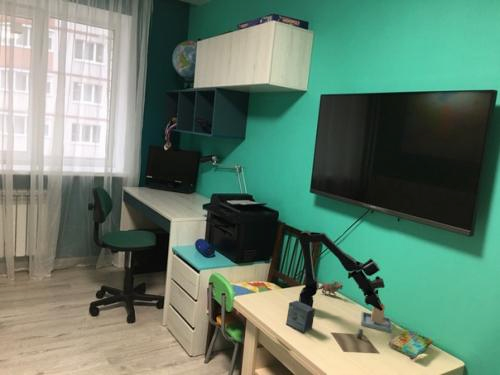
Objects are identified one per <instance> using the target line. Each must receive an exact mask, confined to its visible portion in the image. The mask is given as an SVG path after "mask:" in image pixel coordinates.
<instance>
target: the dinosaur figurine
mask: <svg viewBox="0 0 500 375" xmlns="http://www.w3.org/2000/svg"><path fill="white" fill-rule="evenodd" d="M343 287H344V286H343V284H342V283H341V281H339V282H338V281H336V280H332V281H331V282H323V283H322V285H321V286H319V288H318V290H321V293H323V294H324V295H323V296H324V297H327V292H328V294H329V297H330V298H332V295H331V294H333V295H335V296H337V294H336V292H338V291H339V290H343Z"/></svg>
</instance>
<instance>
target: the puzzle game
mask: <svg viewBox="0 0 500 375" xmlns="http://www.w3.org/2000/svg"><path fill="white" fill-rule="evenodd" d="M433 343H434V340H433V339H431V338H429V337H426V336H424V335H421V334H418V333H417V332H414V331H412V330H409V329H406V330H404V331H403V332H401V333H400V334H398V335H396V336H395V337H393V338H392V339H391V340H389V341H388V346H389V348H391V349H393V350H395V351H398V352H400V353H401V354H403V355H405V356H407V357H409V359H410V360H412V361H413V360H414V359H416V358H417V357H418V356H420V354H422V353H424V351H425V350H427V349H428V348H429V347H430V346H431V345H432V344H433Z"/></svg>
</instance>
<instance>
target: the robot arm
mask: <svg viewBox="0 0 500 375" xmlns="http://www.w3.org/2000/svg"><path fill="white" fill-rule="evenodd" d="M298 241H299V245H300V247H301V250H302V253H303V255H302V256H303V262H304V263H303V264H304V270H305V283H304V287H302V289H301V290H300V293H299V297H298V301H299V302H301V303H303V304H306V305H308V306H310V307H312V308H314V307H313V306H314V297H313V296H316V294H317V292H318V290H319V289H318V288H320V284H319V278H316V276H315V272H314V265H313V264H314V263H313V257H312V256H313V254H312V243H321V244H323V245H324V246H325V248H327V249H328V250H329V252H331V253H332V254H333V255H334V256H335V257H336V258H337V259H338V261H339V262H340V264H341V265H342V267H343V268H344V269H345V271H347V272H348V273H347V280H349V279H351V278H352V279H353V281H354V282H355V283H356V284H357V286H358V289H359V290H361V291H362V293H363V296H364V303H365V304H366V306H369V305H371V307H373V306H374V307H375V308H377V309H379V310H380V311H382V310H383V309H382V307H381V305H380V303H382V302H381V299H380V297H379V289H383V288H385V287H386V286H385V282H384V279H383V278H382V277H380V275H376V276H375V277H374V278H375V279H373V280H371V279H370V278H368V277H372V276H373V275H375V274H376V273H378V272H380V271H381V269H380V267H379V265H378V263H377V262H376V261H375V260H373V259H372V258H371V257H370V258H369V259H368V260H366V261H365V262H364V263H363V262H360V261H358V260H356V259H355V258H354V257H353V256H351V255H350V254H348V253H346V252H344V251H343V249H341V248H340V247H339V245H337V244H336V243H335V241H333V240H332V239H331V238H330V237H329V236H328V234H327V233H325V232H316V231H315V232H314V231H310V230H307V229H305V230H303V231H302V232H300V234H299V236H298ZM367 276H368V277H367Z"/></svg>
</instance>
